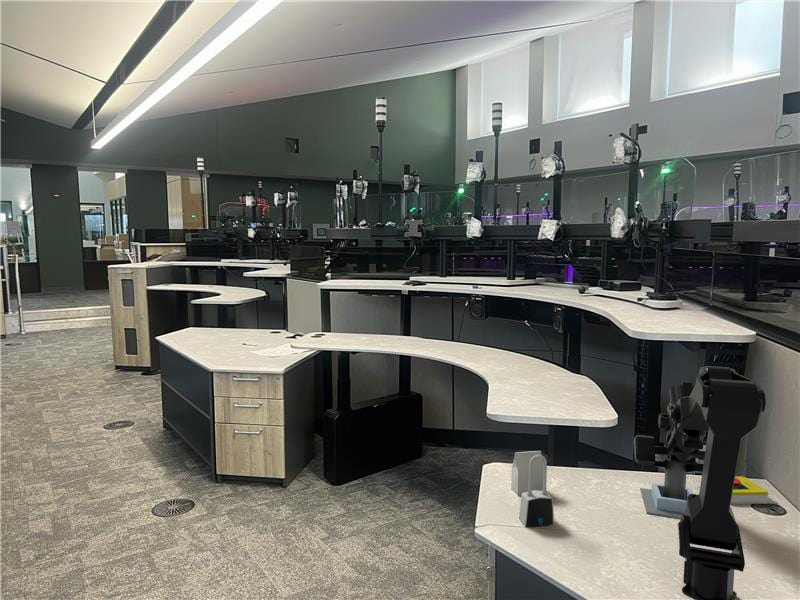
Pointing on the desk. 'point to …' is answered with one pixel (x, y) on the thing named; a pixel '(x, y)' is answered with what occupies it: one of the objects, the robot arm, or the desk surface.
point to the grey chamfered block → (526, 472)
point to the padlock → (536, 502)
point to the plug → (675, 480)
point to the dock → (663, 502)
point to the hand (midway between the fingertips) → (674, 469)
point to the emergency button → (748, 492)
